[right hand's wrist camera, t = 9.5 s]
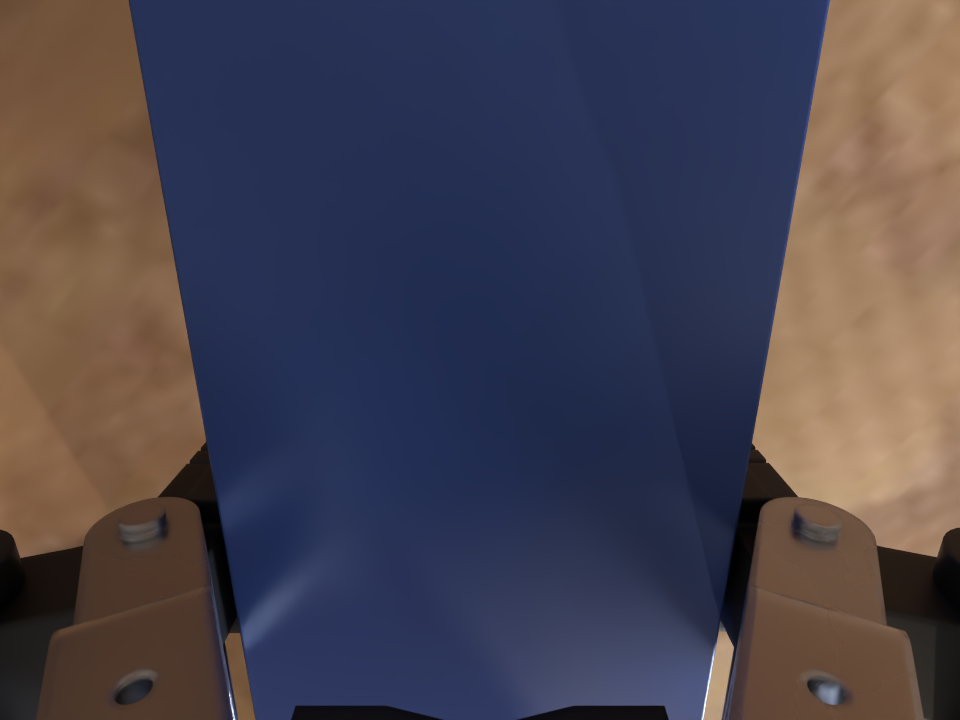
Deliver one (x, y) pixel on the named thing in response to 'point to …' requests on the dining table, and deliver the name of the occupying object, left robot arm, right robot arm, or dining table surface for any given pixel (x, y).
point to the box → (479, 330)
